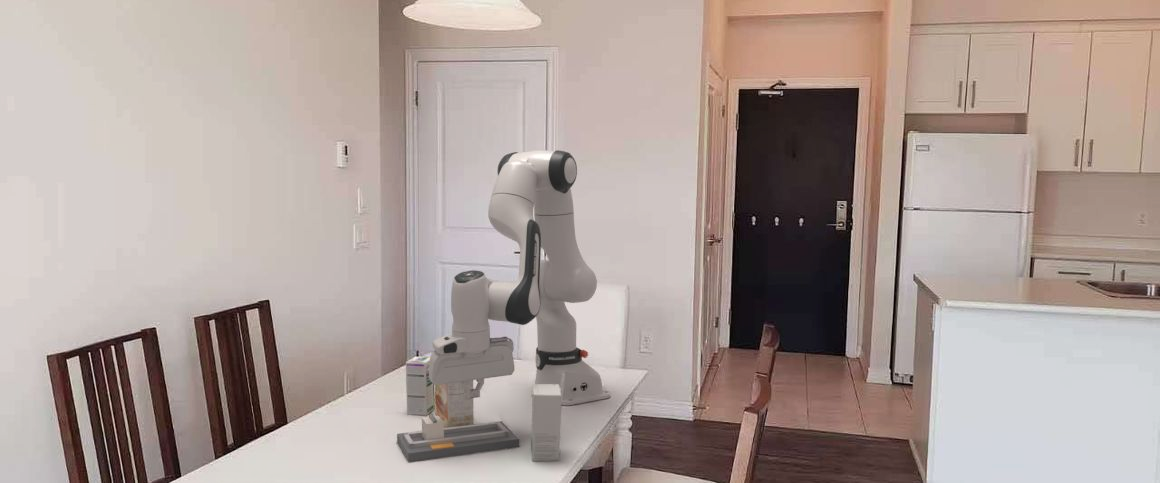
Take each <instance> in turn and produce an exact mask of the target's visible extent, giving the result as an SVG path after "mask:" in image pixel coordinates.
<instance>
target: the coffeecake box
mask: <svg viewBox="0 0 1160 483" xmlns="http://www.w3.org/2000/svg"><path fill="white" fill-rule="evenodd" d="M434 351H435V350H434V349H433V352H434ZM467 387H468V388H469V389H474V380H470V381H469V385H467ZM434 394H435V409H434V416H439V417H440V418H441V419H442V420H443V422H444V428H449V427H457V426H465V425H474V420H475V418H474V398H470V399H468V398H467V397H466V390H465V388H464V387H463V385H462V384H461V382H455V383H448V384H441V385H434Z"/></svg>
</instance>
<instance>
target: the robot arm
mask: <svg viewBox="0 0 1160 483" xmlns="http://www.w3.org/2000/svg"><path fill="white" fill-rule="evenodd" d="M577 176H578V167H577V162H576V160H575V158H574V157H573V155H572V154H571V153H570V152H567V151H563V150H559V149H558V150H545V149H535V150H529V151H523V152H522V151H520V152H517V151H516V152H515V151H514V152H510V153H507V154H505V155H503V156H502V158H501V159H500V161H499V163H498V166H497V178H496V181H495V183H494V186H493V189H492V192H491V196H490V200H489V204H488V210H487V212H488V213H487V214H488V215H487V216H488V219H489V222H490V224H491V226H492V227H493V228H494V229H495V230H496V231H497V232H498V233H499V234H501V235H503V236H504V237H506V238H508V239H511V240H512V241H513V242H516V243H517V244H518V246H519V266H518V277H517V279H516V280H515V281H504V280H503V281H502V280H494V279H490V278H488V277H486V274H485V272H483V271H482V270H475V269H472V270H471V269H470V270H466V271H462V272H460V273H457V274H456V275H455V276H454V277H453V279H452V285H451V291H450V292H451V293H450V294H451V295H450V308H451V309H450V311H451V315H452V318H453V319H452V321H453V322H452V325H451V332H450V333H448V334H446V335H443V336H441V337H439V338H436V339H434V340H433V341H432V348H433V352H432V353H431V354H430V356H429V357H430V362H429V379H430V381H431V382H432V383H433V384H434V386H435V385H441V384H448V383H455V382H461V384H462V385H463V387H464V388H465V390H466V397H467V398H468V399H470V398H473V399H474V398H476V399H477V398H481V390H482V388H483V386H484V384H485V379H491V378H497V377H498V378H499V377H506V376H511V375H513V373H514V372H515V370H516V369H515V361H514V356H513V352H514V346H515V344H514V341H513V340H512V339H511V338H510V337H508V336H501V337H491V332H490V331H491V328H490V327H491V326H490V323H489V320H492V321H495V322H496V321H497V322H499V321H500V322H506V323H512V324H517V325H521V326H525V325H528V324H529V323H531V322H532V321H533V320H534V319H536V325H537V326H536V328H537V329H536V331H537V334H536V335H537V347H536V349H535V367H536V373H535V380H534V384H559V387H560V389H561V406H573V405H578V404H583V403H589V402H594V401H598V400H605V399H609V398H610V397H611V392H610V391H609V389H607V388H606V387H604V386H603V382H602V379H601V375H600V373H599V372H598V371H597V370H595V369H594V368H593V367H591V366H590V365H589V364H588V363H586V362H585V361H584V360H583V358H584V359H587V358H588V357H589V352H588V351H587V350H584V349H580V348H579V347H577V322H576V319H575V317H574V316H573V315H572V314H571V313H570V312H569V310H568V308H567V305H566V303H569V304H570V303H571V304H575V303H576V304H577V303H584V302H585V303H586V302H588V301H590V300H592V298H593V296H594V295H595V293H596V290H597V286H598V284H597V283H598V280H597V276H596V273H595V272H594V270H592V268H590V266H588V264H587V263H586V261H585V260H584V258H583V256H582V254H581V252H580V249H579V246H578V243H577V239H576V238H577V237H576V230H575V215H574V213H575V212H574V209H575V208H574V201H573V194H572V190H571V188H572V187H573V185H574V184H575V182H576V179H577ZM541 249H542V250H543V252H544V253H545V254H546V257H547V259H541V254H542V252H541V251H542V250H541ZM434 350H435V351H434ZM470 380H473V381H475V380H476V382H477V384H476V385H475V388H473V389H469V388H468V387H467V385H469V381H470Z"/></svg>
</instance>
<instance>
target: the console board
mask: <svg viewBox="0 0 1160 483" xmlns="http://www.w3.org/2000/svg"><path fill="white" fill-rule="evenodd" d="M520 441H521V440H520V438H519V437H518V436H517V434H515V433H514V431H512V430H511V428H510V427H508V426H507V425H506V424H505V423H504V422H503V421H502V420H500V421H499V420H498V421H492V422H484V423H476V424H474V425H465V426H457V427H449V428H444V438H440V439H432V440H424V438H423V437H422V430H416V431H409V432H401V433H397V434H396V442H397V445H398V446H399V448H400V449H401V451H402V453H403V455H404V457H405V459H406V461H407V462H408V463H412V462H413V463H414V462H419V461H426V460H434V459H441V458H442V459H443V458H449V457H456V456H462V455H464V456H465V455H471V454H472V455H473V454H477V453H478V454H479V453H486V452H493V451H500V450H508V449H515V448H520V447H521V446H520V445H521V444H520V443H521V442H520Z"/></svg>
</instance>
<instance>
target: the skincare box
mask: <svg viewBox="0 0 1160 483" xmlns="http://www.w3.org/2000/svg"><path fill="white" fill-rule="evenodd" d="M561 419H562V405H561V389H560V387H559V384H535V383H534V384H532V393H531V438H530V440H531V441H530V442H531V444H530V446H531V447H530V450H531V460H532V462H552V461H553V462H558V461H560V460H561V459H560V454H561V453H560V451H561V450H560V449H561V421H562V420H561Z"/></svg>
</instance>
